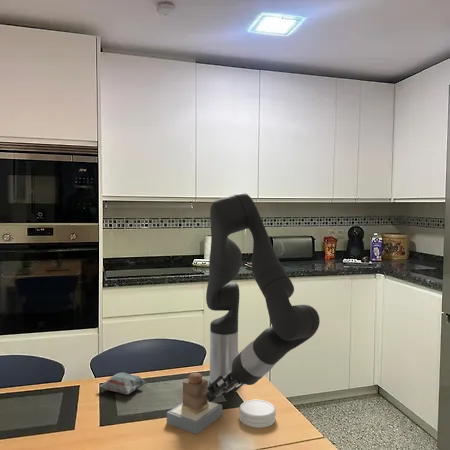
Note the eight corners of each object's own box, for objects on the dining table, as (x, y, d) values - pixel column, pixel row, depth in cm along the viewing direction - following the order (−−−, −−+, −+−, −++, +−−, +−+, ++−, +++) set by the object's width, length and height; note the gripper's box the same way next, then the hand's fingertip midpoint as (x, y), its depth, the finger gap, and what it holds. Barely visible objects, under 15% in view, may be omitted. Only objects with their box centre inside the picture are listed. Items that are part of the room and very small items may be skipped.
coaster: (245, 431, 111) (245, 418, 111) (235, 412, 121) (235, 400, 121) (280, 426, 114) (281, 413, 113) (268, 408, 123) (268, 397, 123)
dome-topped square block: (194, 402, 120) (194, 370, 119) (208, 407, 117) (208, 374, 116) (181, 409, 116) (181, 375, 115) (196, 414, 112) (196, 381, 112)
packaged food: (128, 400, 127) (129, 384, 127) (98, 392, 132) (98, 376, 132) (146, 389, 135) (146, 374, 135) (117, 382, 140) (117, 367, 140)
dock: (193, 405, 124) (193, 395, 124) (222, 415, 119) (222, 404, 119) (166, 423, 114) (166, 411, 114) (196, 434, 109) (196, 422, 109)
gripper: (266, 340, 107) (232, 372, 115) (225, 354, 97) (192, 388, 105) (282, 367, 103) (247, 398, 112) (242, 384, 93) (206, 416, 102)
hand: (220, 393), depth 108 cm, fingers open, 8 cm apart
